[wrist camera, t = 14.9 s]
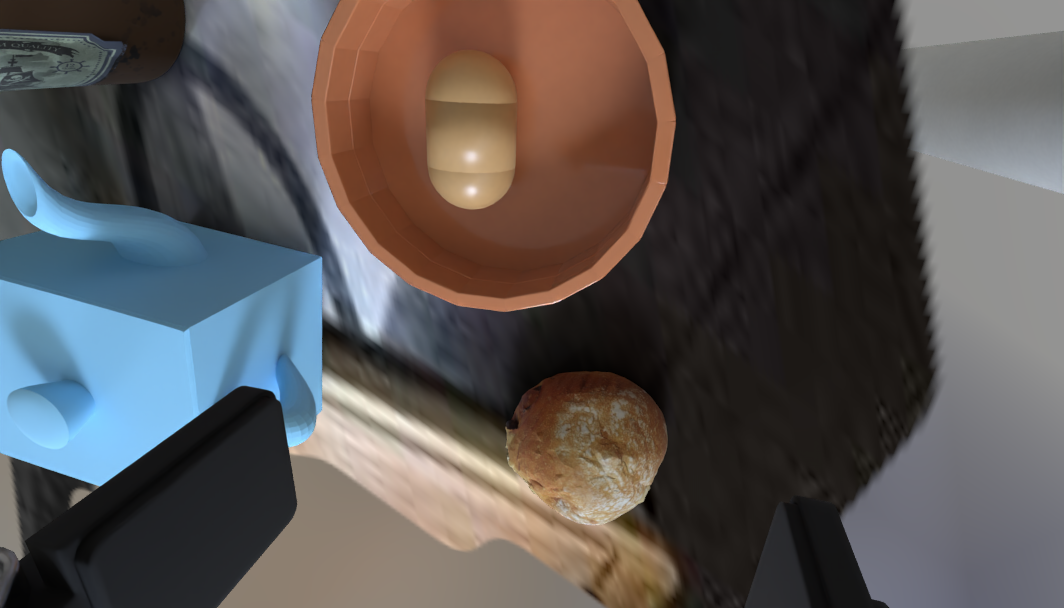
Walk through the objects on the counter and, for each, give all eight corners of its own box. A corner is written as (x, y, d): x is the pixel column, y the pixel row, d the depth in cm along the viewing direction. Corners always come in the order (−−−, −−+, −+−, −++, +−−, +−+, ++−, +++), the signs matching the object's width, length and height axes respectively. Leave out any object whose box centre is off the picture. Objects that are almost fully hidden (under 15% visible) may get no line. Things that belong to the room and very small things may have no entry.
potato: (473, 51, 29) (403, 46, 26) (538, 53, 26) (469, 47, 23) (473, 195, 32) (411, 206, 29) (531, 209, 29) (469, 224, 26)
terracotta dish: (697, -57, 25) (706, -86, 20) (647, 294, 32) (646, 330, 27) (349, -58, 28) (289, -84, 23) (374, 262, 35) (332, 289, 30)
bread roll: (622, 462, 41) (669, 549, 34) (491, 470, 38) (512, 566, 31) (651, 351, 37) (711, 424, 30) (506, 352, 34) (535, 432, 27)
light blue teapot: (416, 346, 37) (280, 497, 23) (254, 447, 44) (80, 605, 31) (228, 108, 33) (-61, 127, 20) (84, 260, 40) (-198, 350, 27)
